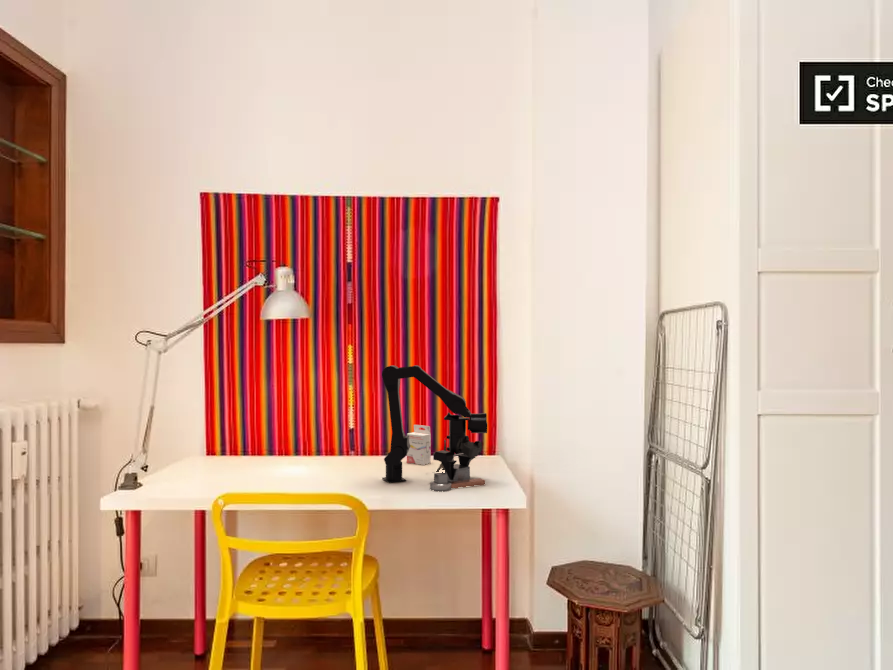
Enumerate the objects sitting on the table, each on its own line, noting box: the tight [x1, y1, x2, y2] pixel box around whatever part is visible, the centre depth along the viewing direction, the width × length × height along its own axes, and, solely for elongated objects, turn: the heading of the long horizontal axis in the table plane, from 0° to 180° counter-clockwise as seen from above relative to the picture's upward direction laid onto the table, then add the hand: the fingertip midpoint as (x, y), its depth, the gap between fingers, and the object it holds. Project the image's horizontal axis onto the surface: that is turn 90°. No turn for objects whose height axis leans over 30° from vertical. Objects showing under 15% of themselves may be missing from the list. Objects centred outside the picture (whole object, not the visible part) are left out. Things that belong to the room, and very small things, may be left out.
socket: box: [445, 463, 471, 482], centre depth 216 cm, size 6×6×5 cm
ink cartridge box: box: [406, 424, 432, 466], centre depth 246 cm, size 9×5×15 cm, turn 58°
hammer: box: [429, 472, 486, 493], centre depth 208 cm, size 20×7×5 cm, turn 117°
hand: (457, 478), depth 216 cm, fingers closed on socket, 6 cm apart
